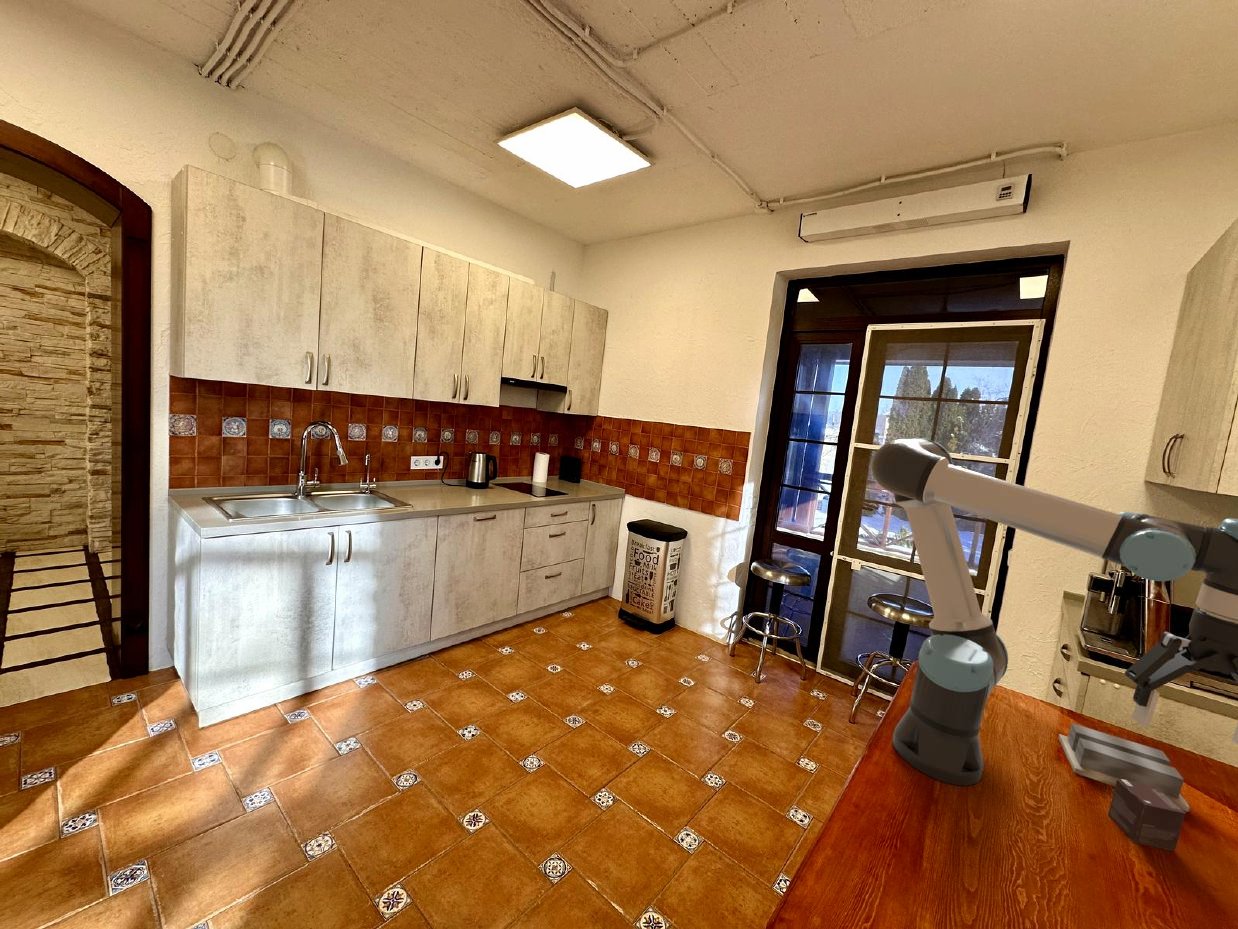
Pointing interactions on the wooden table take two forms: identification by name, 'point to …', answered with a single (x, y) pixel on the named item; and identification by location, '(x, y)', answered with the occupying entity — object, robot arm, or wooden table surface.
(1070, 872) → the wooden table surface
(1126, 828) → the box
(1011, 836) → the wooden table surface
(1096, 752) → the stand
